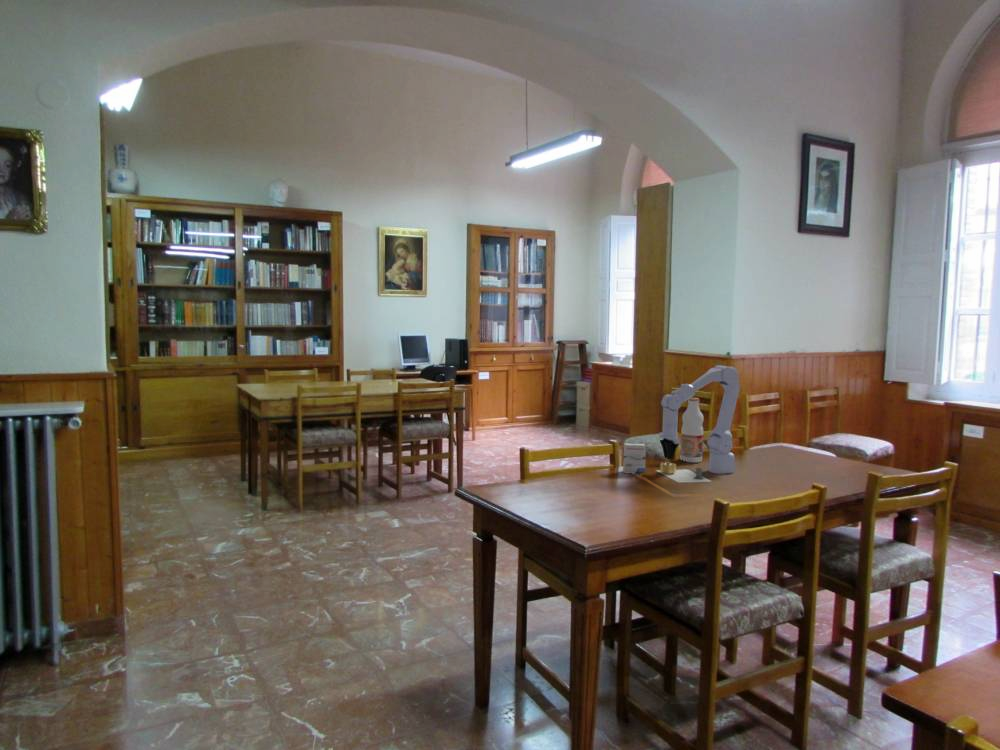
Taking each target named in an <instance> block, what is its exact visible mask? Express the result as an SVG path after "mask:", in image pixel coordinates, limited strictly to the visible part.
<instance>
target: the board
mask: <svg viewBox="0 0 1000 750" xmlns="http://www.w3.org/2000/svg"><path fill="white" fill-rule="evenodd" d="M695 469H696V471H695V472H693V471H692V470H689V469H687V468H686V469H676V472H675V473H674V474H663V473H662V472H661V471H660V470H659V469H656V470H655V472H658V473H660V474H662V475H663V476H665V477H667V478H669V479H671V480H673V481H674V482H677V483H706V482H713V481H712V480H710V479H708V478H707V477H704V476H702V475H703V474H702V473H703V472H702V469H703V468H702V467H696V468H695Z"/></svg>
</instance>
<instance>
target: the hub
mask: <svg viewBox="0 0 1000 750" xmlns="http://www.w3.org/2000/svg"><path fill="white" fill-rule="evenodd" d="M666 463H667V464H666V465H671V464H670V463H671V462H670V461H666ZM662 473H663V474H674V473H664V472H662ZM663 474H662V475H663Z"/></svg>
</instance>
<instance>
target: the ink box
mask: <svg viewBox="0 0 1000 750" xmlns="http://www.w3.org/2000/svg"><path fill="white" fill-rule="evenodd" d="M646 453H647V446H646V444H645V443H628V442H627V443H625V442H624V443H623V461H622V463H623V464H622V471H623V472H622V473H623V474H624V473H634V474H633V475H640V473H646V461H647V460H646V459H647V456H646V455H647V454H646ZM635 473H636V474H635Z"/></svg>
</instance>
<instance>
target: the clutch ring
mask: <svg viewBox="0 0 1000 750" xmlns="http://www.w3.org/2000/svg"><path fill="white" fill-rule="evenodd" d="M666 464H667V462H661V463H660V465H659V467H660V471H661V472H664V473H675V472H676V470H677V464H676V463H673V462H670V464H671V465H666Z"/></svg>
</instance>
